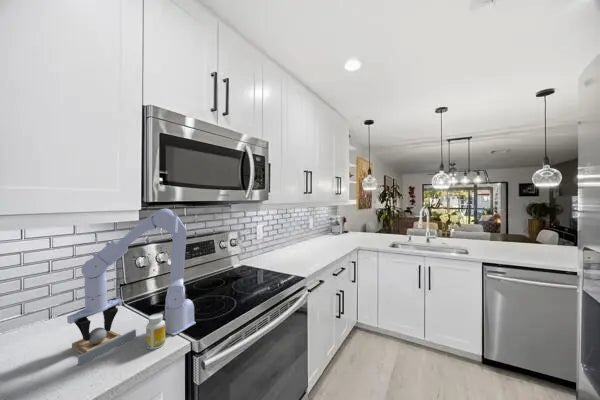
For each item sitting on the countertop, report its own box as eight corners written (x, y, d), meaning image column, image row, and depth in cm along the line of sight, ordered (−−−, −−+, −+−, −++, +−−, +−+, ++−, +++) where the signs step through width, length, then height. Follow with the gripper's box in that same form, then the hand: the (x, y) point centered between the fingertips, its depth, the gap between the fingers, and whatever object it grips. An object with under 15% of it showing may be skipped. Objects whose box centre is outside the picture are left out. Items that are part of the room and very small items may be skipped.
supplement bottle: (143, 350, 80) (142, 320, 79) (151, 340, 85) (150, 312, 85) (161, 349, 80) (160, 319, 80) (168, 339, 86) (167, 311, 85)
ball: (101, 337, 86) (101, 323, 86) (109, 340, 84) (109, 326, 84) (84, 344, 82) (84, 330, 82) (93, 348, 80) (93, 333, 80)
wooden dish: (105, 333, 90) (105, 328, 90) (121, 339, 85) (121, 335, 85) (71, 348, 81) (71, 343, 81) (87, 356, 77) (87, 351, 77)
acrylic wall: (134, 336, 88) (134, 329, 87) (136, 336, 87) (135, 329, 87) (78, 364, 73) (77, 356, 73) (79, 365, 73) (79, 356, 73)
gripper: (113, 284, 91) (114, 322, 91) (61, 300, 78) (63, 343, 78) (125, 288, 88) (126, 326, 88) (73, 304, 75) (74, 349, 75)
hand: (97, 334), depth 83 cm, fingers open, 5 cm apart
